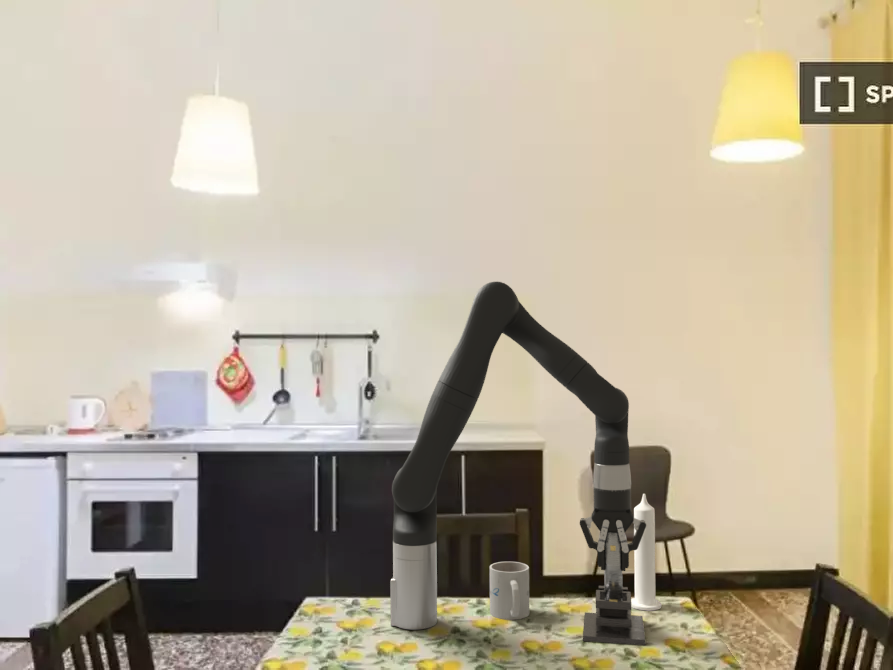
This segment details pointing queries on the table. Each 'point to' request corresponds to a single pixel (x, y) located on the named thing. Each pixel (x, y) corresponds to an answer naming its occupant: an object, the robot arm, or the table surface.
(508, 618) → the mug
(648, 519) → the candle
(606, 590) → the tube
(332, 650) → the table surface
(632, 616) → the bracket
